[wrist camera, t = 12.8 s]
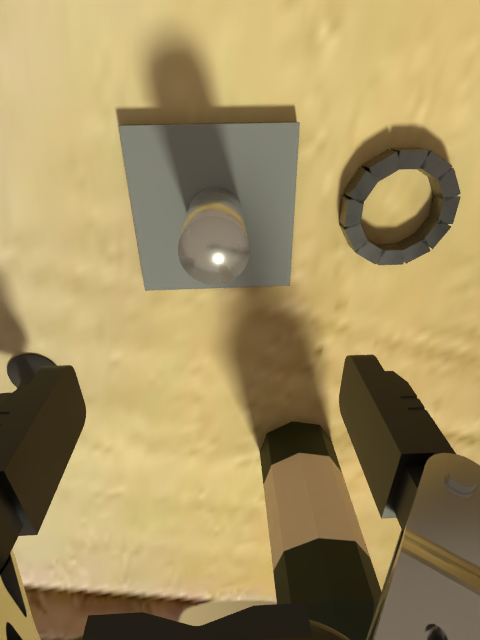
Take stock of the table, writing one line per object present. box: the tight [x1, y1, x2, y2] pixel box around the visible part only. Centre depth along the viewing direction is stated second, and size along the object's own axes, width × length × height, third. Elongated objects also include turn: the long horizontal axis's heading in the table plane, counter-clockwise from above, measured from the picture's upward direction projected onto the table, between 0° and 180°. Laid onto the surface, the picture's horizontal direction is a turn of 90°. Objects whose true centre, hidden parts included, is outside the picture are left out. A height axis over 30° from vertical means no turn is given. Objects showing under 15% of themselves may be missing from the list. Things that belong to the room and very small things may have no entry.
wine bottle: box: [260, 422, 382, 640], centre depth 29 cm, size 8×8×30 cm
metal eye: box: [339, 148, 461, 265], centre depth 28 cm, size 8×8×2 cm
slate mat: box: [119, 122, 300, 291], centre depth 28 cm, size 12×12×1 cm
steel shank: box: [178, 187, 250, 285], centre depth 24 cm, size 4×4×8 cm
